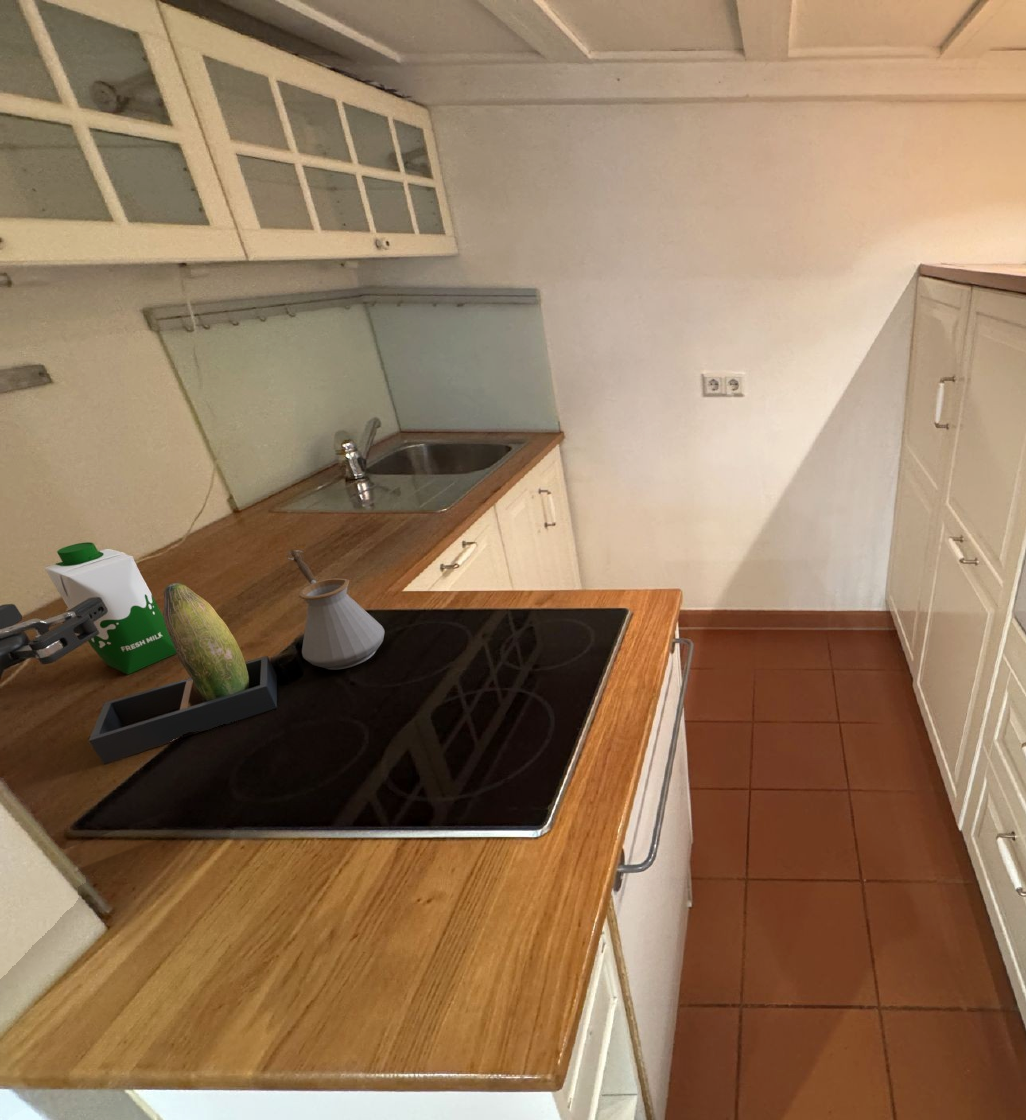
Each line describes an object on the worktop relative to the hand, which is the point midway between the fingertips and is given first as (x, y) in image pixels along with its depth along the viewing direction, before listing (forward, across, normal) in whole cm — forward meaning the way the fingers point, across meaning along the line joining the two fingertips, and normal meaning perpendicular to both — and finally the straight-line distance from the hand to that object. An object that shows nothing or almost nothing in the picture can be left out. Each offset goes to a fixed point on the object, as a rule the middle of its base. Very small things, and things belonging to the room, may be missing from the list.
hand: (58, 607), depth 69 cm
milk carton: (+28, +20, +24) cm, 42 cm away
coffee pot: (+26, -12, +24) cm, 37 cm away
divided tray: (+10, 0, +24) cm, 25 cm away
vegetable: (+11, -3, +24) cm, 27 cm away
